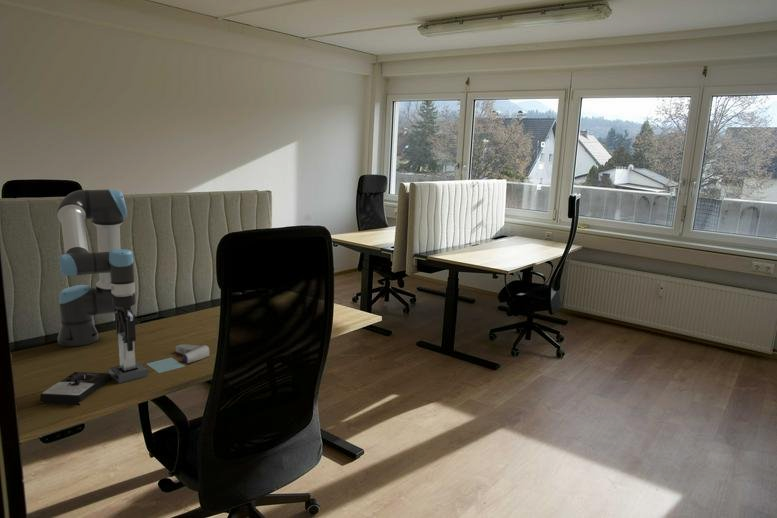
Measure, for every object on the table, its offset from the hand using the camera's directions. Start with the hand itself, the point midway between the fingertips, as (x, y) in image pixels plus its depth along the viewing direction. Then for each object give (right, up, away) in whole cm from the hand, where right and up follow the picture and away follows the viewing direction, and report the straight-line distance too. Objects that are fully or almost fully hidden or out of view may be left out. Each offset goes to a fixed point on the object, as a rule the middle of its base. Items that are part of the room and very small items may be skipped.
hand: (127, 356), depth 201 cm
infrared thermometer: (+13, -5, +23) cm, 27 cm away
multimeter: (-12, -11, -11) cm, 19 cm away
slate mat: (+9, -6, +12) cm, 16 cm away
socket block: (0, -8, +1) cm, 8 cm away
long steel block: (0, -4, +1) cm, 4 cm away
